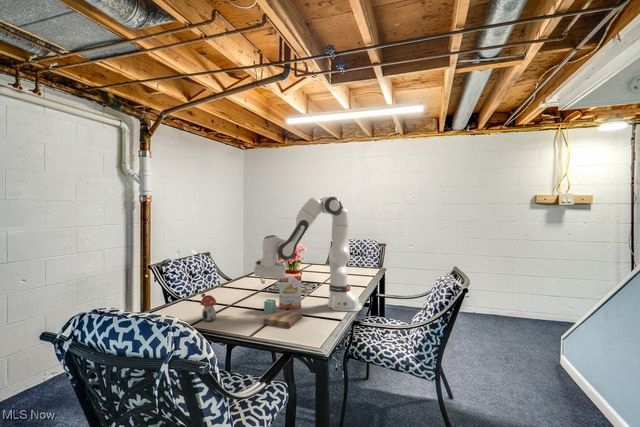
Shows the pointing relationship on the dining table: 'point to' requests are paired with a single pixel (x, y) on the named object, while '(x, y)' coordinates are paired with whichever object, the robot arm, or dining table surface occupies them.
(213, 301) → the decorative ornament
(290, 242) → the robot arm
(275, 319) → the base
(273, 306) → the block
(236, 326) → the dining table surface
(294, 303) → the cracker box
